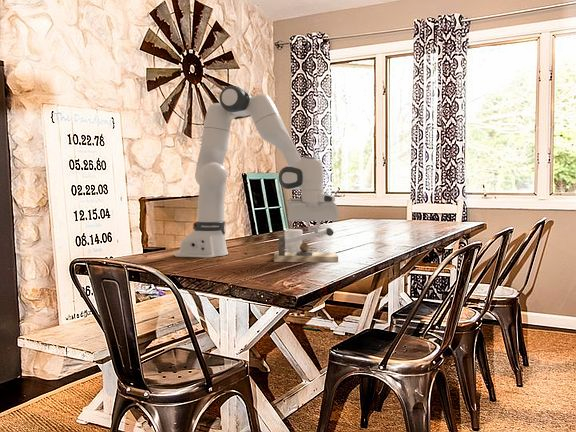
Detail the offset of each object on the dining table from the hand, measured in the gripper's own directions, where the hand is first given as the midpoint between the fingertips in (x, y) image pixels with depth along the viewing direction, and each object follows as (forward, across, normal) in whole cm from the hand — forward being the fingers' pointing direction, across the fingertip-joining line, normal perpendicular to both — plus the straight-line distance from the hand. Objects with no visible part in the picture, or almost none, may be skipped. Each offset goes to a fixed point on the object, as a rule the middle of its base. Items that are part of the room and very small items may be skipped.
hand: (313, 232), depth 220 cm
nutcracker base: (+11, -3, 0) cm, 11 cm away
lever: (+3, -3, 0) cm, 4 cm away
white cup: (+11, -8, +19) cm, 23 cm away
